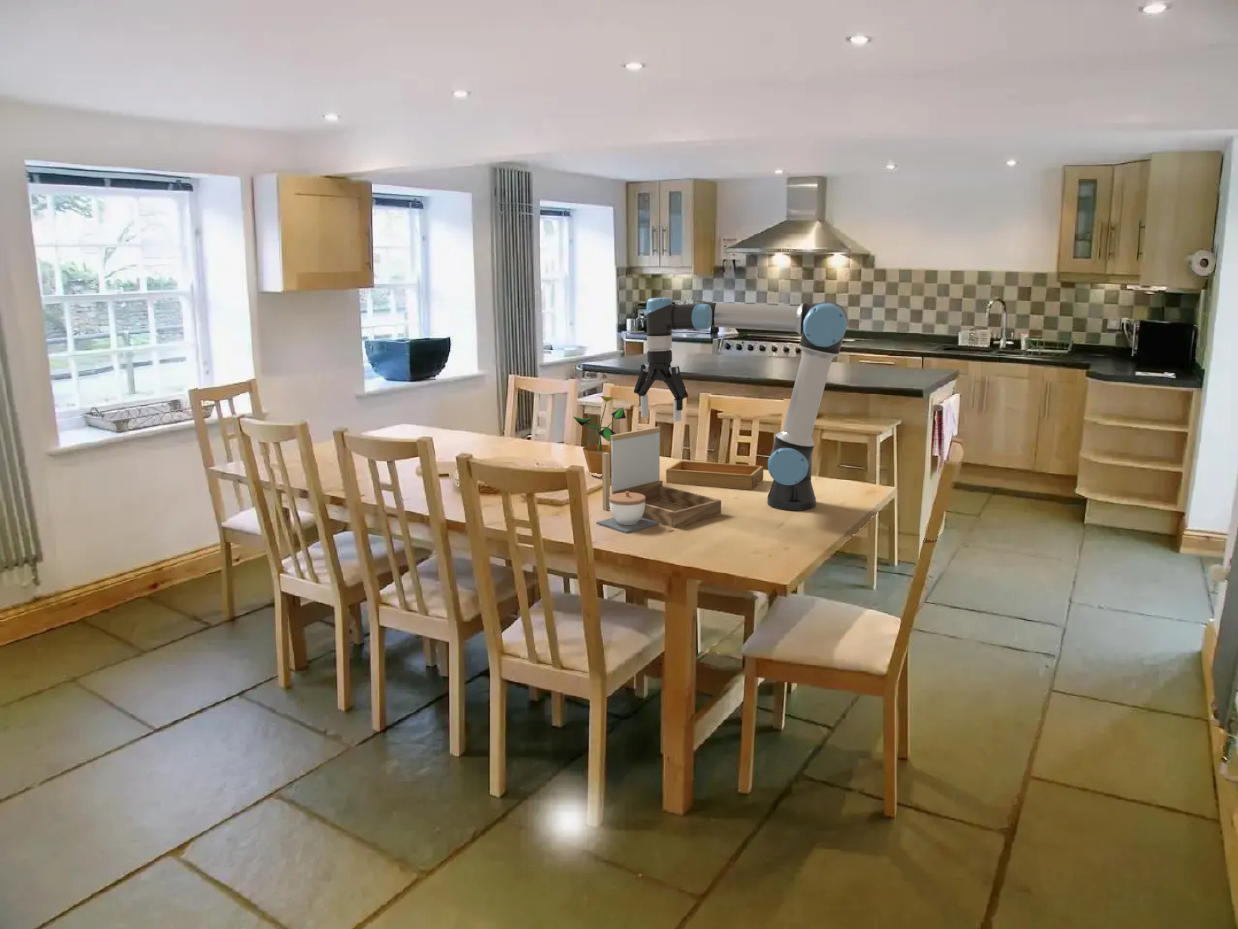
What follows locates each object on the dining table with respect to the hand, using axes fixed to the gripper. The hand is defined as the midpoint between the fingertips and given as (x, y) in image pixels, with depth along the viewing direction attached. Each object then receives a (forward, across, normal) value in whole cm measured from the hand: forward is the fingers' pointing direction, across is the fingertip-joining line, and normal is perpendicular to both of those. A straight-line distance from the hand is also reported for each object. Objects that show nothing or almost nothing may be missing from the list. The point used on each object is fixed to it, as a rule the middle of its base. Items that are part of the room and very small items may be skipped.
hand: (660, 418), depth 286 cm
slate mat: (+28, -5, +21) cm, 35 cm away
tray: (+29, +9, -37) cm, 48 cm away
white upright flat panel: (+28, +10, +4) cm, 30 cm away
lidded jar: (+28, -5, +21) cm, 35 cm away
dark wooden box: (+28, -5, +3) cm, 29 cm away
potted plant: (+28, +45, -17) cm, 56 cm away
